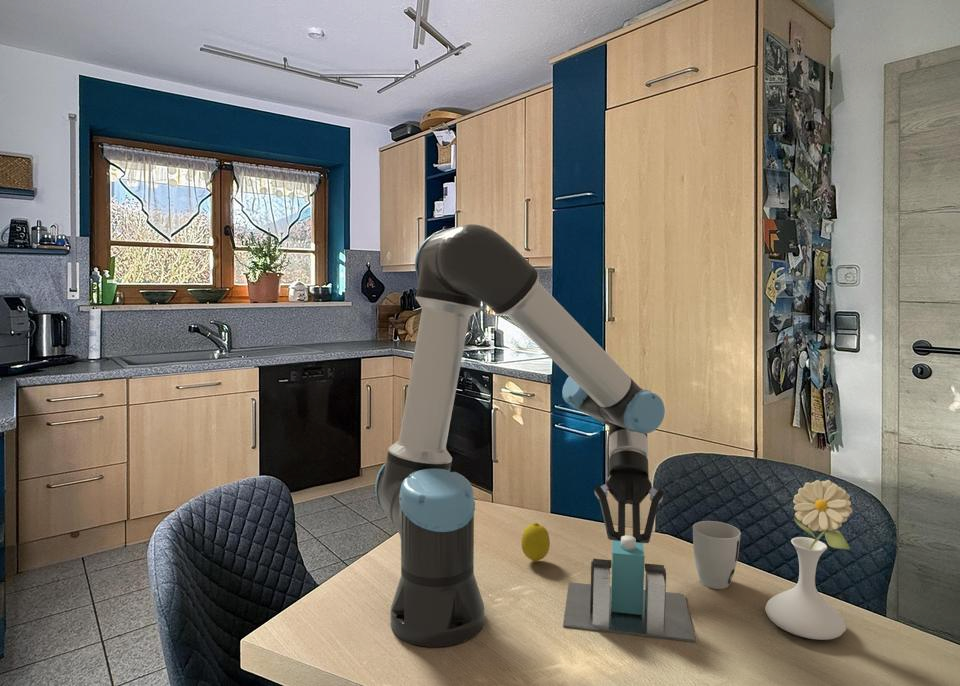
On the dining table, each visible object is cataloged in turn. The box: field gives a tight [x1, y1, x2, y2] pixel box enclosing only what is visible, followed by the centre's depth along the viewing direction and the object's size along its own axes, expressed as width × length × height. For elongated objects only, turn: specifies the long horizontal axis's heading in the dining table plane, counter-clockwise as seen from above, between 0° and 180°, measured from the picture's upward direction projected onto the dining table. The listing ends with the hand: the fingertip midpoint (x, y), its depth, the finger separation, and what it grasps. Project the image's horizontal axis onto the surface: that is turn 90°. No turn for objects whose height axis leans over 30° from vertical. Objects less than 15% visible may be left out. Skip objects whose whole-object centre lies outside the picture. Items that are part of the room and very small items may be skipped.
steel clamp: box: [562, 558, 696, 643], centre depth 101 cm, size 20×14×9 cm
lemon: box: [520, 522, 551, 563], centre depth 119 cm, size 6×6×8 cm
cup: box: [692, 520, 742, 590], centre depth 111 cm, size 8×8×10 cm
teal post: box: [610, 535, 646, 615], centre depth 101 cm, size 5×5×12 cm
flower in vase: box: [764, 479, 853, 641], centre depth 95 cm, size 13×11×25 cm
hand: (629, 579), depth 105 cm, fingers closed
